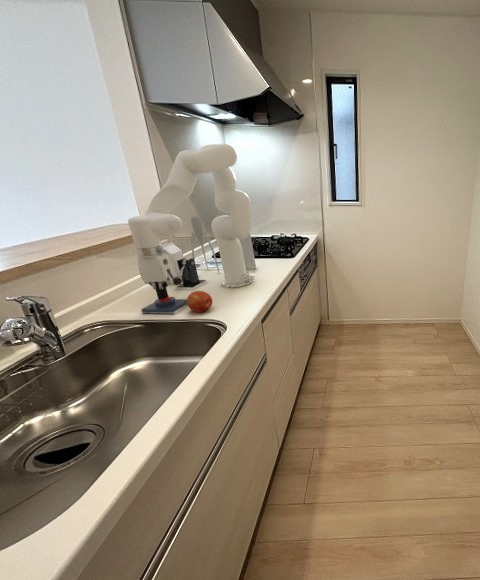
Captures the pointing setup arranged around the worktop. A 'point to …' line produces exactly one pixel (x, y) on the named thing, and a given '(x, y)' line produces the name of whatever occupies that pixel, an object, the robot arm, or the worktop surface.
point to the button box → (165, 306)
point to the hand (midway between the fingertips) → (163, 298)
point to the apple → (199, 301)
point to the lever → (180, 274)
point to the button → (165, 299)
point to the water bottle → (248, 253)
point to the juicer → (200, 237)
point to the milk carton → (173, 256)
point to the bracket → (189, 274)
